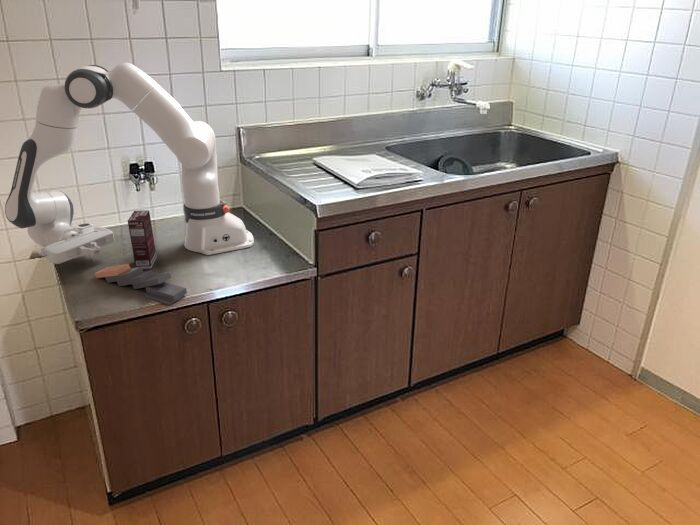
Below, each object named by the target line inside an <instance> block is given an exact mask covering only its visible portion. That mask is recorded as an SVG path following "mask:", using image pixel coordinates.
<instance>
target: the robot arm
mask: <svg viewBox="0 0 700 525" xmlns="http://www.w3.org/2000/svg"><path fill="white" fill-rule="evenodd" d="M112 99H115V100H117V101H120V102H121V103H122V104H124V105H125V106H126V107H127V108H128V109H129V111H130V110H131V111H132V112H133V114H135V115H136V116H137V117H138V118H140V120H142V121H143V122H144V123H145V124H146V125H147V126H149V128H150V129H152V131H153V132H155V134H156V135H157V136H158V137H159V138H160V139H161V141H162V143H164V144H165V146H166V147H167V148H168V149H169V150H170V152H172V153H173V154H174V156H175V157H176V158H177V160H178V162H179V163H180V164H181V184H182V194H183V201H184V203H183V216H184V220H185V221H184V222H185V238H184V239H185V240H184V244H183V245H184V248H185V249H187V250H188V251H191V252H195V253H201V254H203V255H206V256H209V255H211V256H212V255H215V254H220V253H226V252H231V251H237V250H242V249H246V248H251V247H252V246H253V245H254V244H255V239H254V236H253V234H252V232H250V231H249V230H248V229H246V225H245V224H244V221H243V220H242V219H241V218H239V217H237V216H236V215H234V214H232V213H231V212H230V207H229V205H227V203H226V202H225V201H224V200H220V199H221V198H220V190H219V188H220V187H219V178H218V177H219V176H218V175H219V174H218V172H219V171H218V155H217V140H216V133H215V132H214V129H213V127H211V125H210V124H208V123H207V122H205V121H202V120H192V118H191V117H190V116H189V115H188V114H187V113H186V111H185V110H184V108H182V106H181V104H180V103H179V102H178V101H177V100H176V99H175V98H174V97H173V96H172V95H170V94H169V92H167V91H166V90H165V89H164V88H163V87H162V86H161V85H160V84H159V83H157V81H155V79H153V78H152V77H151V76H150V75H149V74H147V73H146V72H145V71H143V70H142V69H140V68H139V67H138V66H136V65H134V64H133V63H130V62H125V61H124V62H122V63H118V64H117V65H115V66H114V67H113V68H112V69H111V70H110V71H109V70H107V69H106V68H105V67H103V66H100V65H97V64H90V65H84V66H80V67H78V68H76V69H75V70H73V71H71V72H70V73H69V74H68V75H67V77H66V79H65V81H64V84H61V83H49V84H47V85H45V86H43V87H42V88H41V91H40V93H39V98H38V101H37V106H36V112H35V113H36V115H35V123H34V128H33V130H32V132H31V134H30V136H29V138H28V139H27V140H25V141H24V142H23V143H22V145H21V148H20V151H19V154H18V158H17V163H16V167H15V171H14V175H13V176H14V177H13V180H12V184H11V189H10V192H9V193H8V194H9V195H8V197H7V199H6V201H5V205H4V214H5V217H6V219H7V220H8V222H9V223H10V224H12V225H14V226H15V227H17V228H19V229H22V230H23V229H27V234H28V237H30V239H31V240H32V241H33V242H34V243H35V244H37V245H38V246H40V247H43V248H42V249H40V251H39V252H38V255H39V256H41V257H45V258H46V260H47V261H49V262H50V263H52V264H55V265H59V264H62V263H65V262H68V261H70V260H73V259H75V258H78V257H80V256H81V257H82V256H85V255H86V256H87V255H88V256H89V255H90V256H95V255H97V254H100V253H102V248H103V247H106V246H109V245H111V244H113V243H115V235H114V231H113V230H111V229H109V228H106V227H103V226H98V225H97V226H95V225H94V223H91V222H87V223H82V224H72V221H73V218H74V215H75V213H74V204H73V202H72V200H71V199H70V197H69V196H68V195H67V194H66V193H65V192H63V191H61V190H50V191H42V192H33V190H34V185H35V182H36V178H37V173H38V170H39V169H40V167H41V166H43V165H44V164H45V163H47V162H48V161H50V160H52V159H55V158H56V157H59V156H61V155H62V156H63V155H64V154H65V153H67V152H69V151H70V150H71V149H72V148H73V147H75V144H76V141H77V138H78V133H79V132H78V130H79V117H80V112H81V110H82V109H94V108H97V107H99V106H102V105H103V104H105V103H106V102H109V101H111V100H112Z"/></svg>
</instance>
